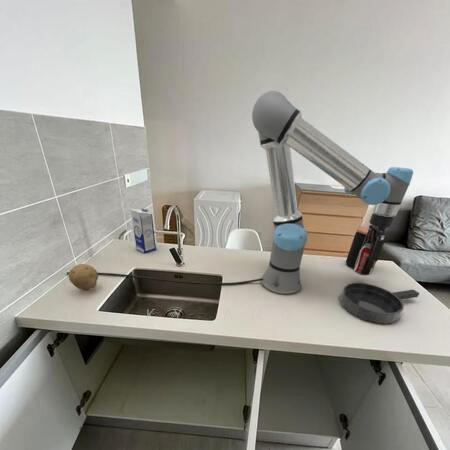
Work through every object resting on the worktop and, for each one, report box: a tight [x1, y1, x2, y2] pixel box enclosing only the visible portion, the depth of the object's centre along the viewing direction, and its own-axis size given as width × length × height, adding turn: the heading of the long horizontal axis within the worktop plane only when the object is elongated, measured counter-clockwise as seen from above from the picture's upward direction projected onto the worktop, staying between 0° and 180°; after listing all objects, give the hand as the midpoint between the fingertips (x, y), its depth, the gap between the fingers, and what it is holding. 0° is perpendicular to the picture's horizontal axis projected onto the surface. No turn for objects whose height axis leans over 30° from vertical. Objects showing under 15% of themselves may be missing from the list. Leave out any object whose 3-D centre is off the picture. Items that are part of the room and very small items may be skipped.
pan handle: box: [387, 289, 420, 301], centre depth 90 cm, size 12×3×2 cm, turn 106°
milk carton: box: [130, 208, 157, 254], centre depth 116 cm, size 7×7×20 cm
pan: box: [339, 282, 405, 325], centre depth 87 cm, size 19×19×4 cm
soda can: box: [352, 243, 377, 277], centre depth 98 cm, size 7×7×12 cm
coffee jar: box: [345, 225, 369, 270], centre depth 112 cm, size 11×11×18 cm
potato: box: [68, 263, 99, 292], centre depth 86 cm, size 9×9×10 cm
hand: (362, 269), depth 100 cm, fingers closed on soda can, 7 cm apart
